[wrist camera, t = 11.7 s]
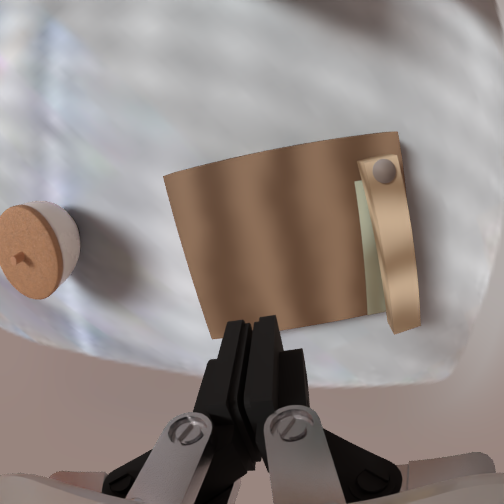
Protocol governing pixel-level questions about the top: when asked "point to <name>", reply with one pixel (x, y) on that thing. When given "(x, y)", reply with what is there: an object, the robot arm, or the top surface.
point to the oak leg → (392, 239)
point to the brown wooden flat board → (282, 233)
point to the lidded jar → (38, 247)
